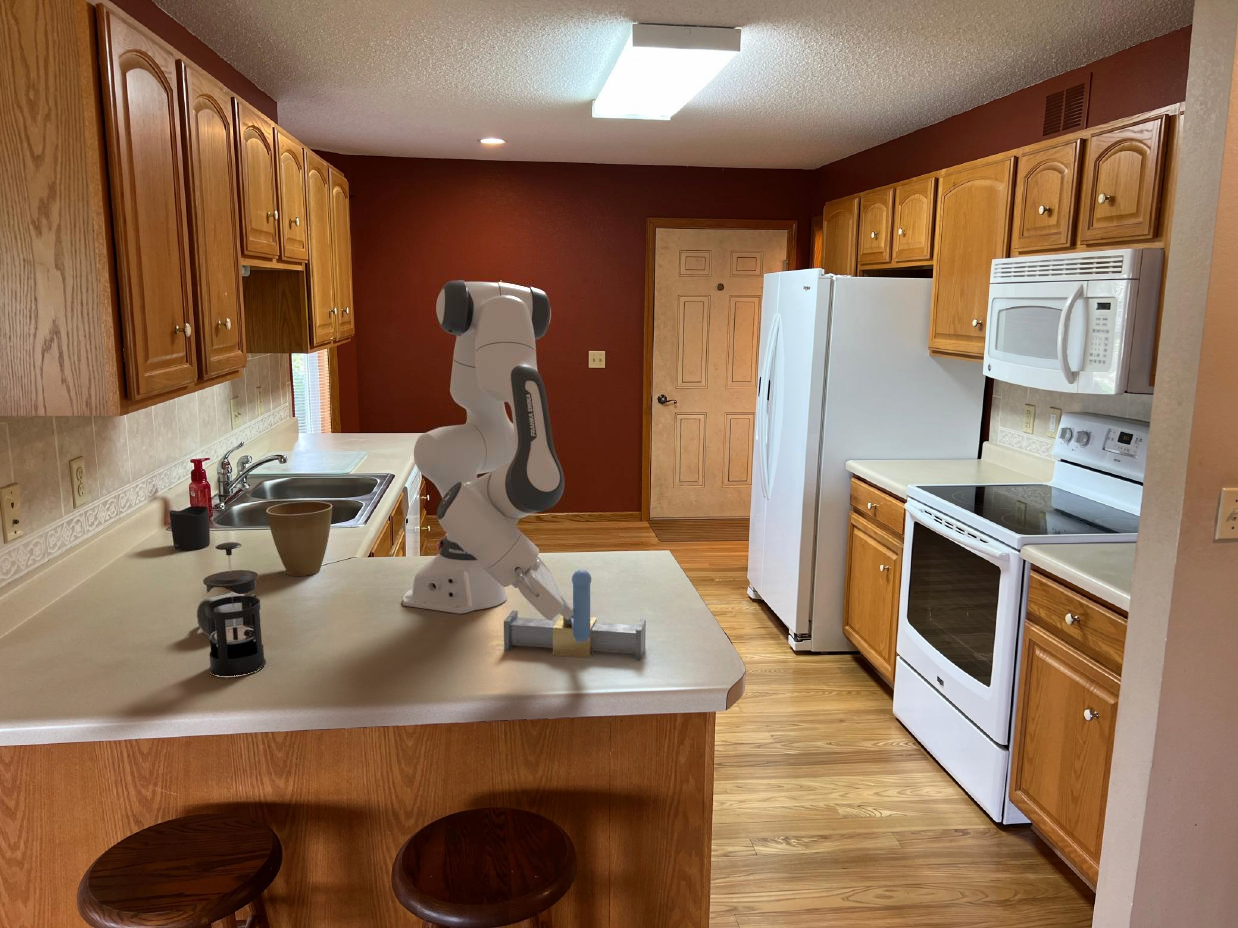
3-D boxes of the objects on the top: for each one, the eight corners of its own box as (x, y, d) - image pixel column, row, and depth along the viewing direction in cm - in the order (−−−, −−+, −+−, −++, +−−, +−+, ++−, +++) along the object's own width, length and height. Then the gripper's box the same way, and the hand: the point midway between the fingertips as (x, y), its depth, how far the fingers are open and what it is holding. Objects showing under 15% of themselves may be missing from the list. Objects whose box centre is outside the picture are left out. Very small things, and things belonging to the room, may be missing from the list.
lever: (562, 617, 172) (561, 549, 169) (585, 616, 172) (584, 548, 170) (570, 647, 157) (569, 573, 155) (595, 645, 158) (595, 572, 155)
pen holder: (177, 542, 243) (173, 506, 241) (214, 540, 245) (211, 504, 243) (168, 552, 234) (165, 515, 232) (207, 550, 236) (204, 513, 234)
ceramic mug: (257, 626, 182) (254, 590, 181) (223, 640, 175) (220, 602, 174) (221, 619, 187) (217, 583, 186) (186, 632, 180) (182, 595, 178)
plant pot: (349, 568, 221) (345, 505, 218) (298, 585, 208) (293, 517, 205) (308, 559, 228) (304, 497, 225) (257, 574, 216) (252, 509, 213)
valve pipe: (503, 651, 170) (503, 621, 169) (513, 639, 176) (512, 609, 175) (640, 661, 166) (640, 630, 165) (645, 648, 172) (645, 618, 171)
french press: (247, 681, 157) (237, 553, 153) (196, 678, 158) (185, 551, 154) (280, 654, 168) (271, 535, 164) (232, 652, 169) (222, 533, 165)
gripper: (532, 564, 144) (592, 621, 147) (522, 534, 164) (575, 584, 167) (504, 592, 144) (564, 648, 147) (497, 558, 164) (550, 608, 167)
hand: (570, 614), depth 157 cm, fingers closed, pressing on lever
